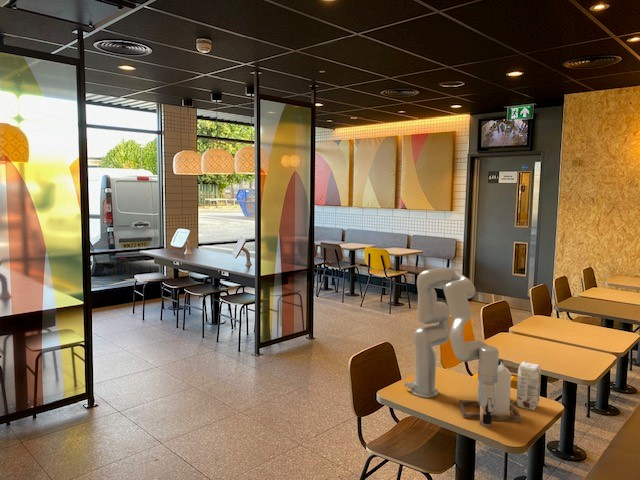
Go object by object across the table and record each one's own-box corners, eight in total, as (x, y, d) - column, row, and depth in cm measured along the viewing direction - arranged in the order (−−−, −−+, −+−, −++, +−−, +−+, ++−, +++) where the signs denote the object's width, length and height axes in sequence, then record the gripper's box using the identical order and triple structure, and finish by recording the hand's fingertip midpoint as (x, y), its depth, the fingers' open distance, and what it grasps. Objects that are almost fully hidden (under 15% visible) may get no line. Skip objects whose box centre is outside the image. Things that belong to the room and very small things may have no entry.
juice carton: (535, 412, 205) (538, 369, 203) (515, 406, 210) (517, 364, 208) (540, 405, 211) (542, 364, 209) (519, 400, 216) (521, 360, 214)
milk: (505, 411, 206) (508, 361, 204) (509, 417, 200) (512, 366, 198) (491, 409, 207) (493, 360, 205) (494, 416, 201) (496, 365, 199)
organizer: (463, 418, 199) (463, 413, 199) (458, 404, 212) (458, 399, 212) (521, 422, 196) (521, 417, 196) (512, 407, 209) (512, 403, 209)
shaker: (480, 426, 192) (481, 404, 191) (478, 421, 196) (479, 399, 196) (492, 427, 191) (493, 405, 190) (490, 422, 196) (491, 400, 195)
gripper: (474, 368, 201) (472, 410, 203) (482, 384, 184) (480, 430, 186) (492, 369, 200) (490, 411, 202) (502, 386, 183) (500, 431, 185)
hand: (485, 420), depth 194 cm, fingers closed on shaker, 4 cm apart
